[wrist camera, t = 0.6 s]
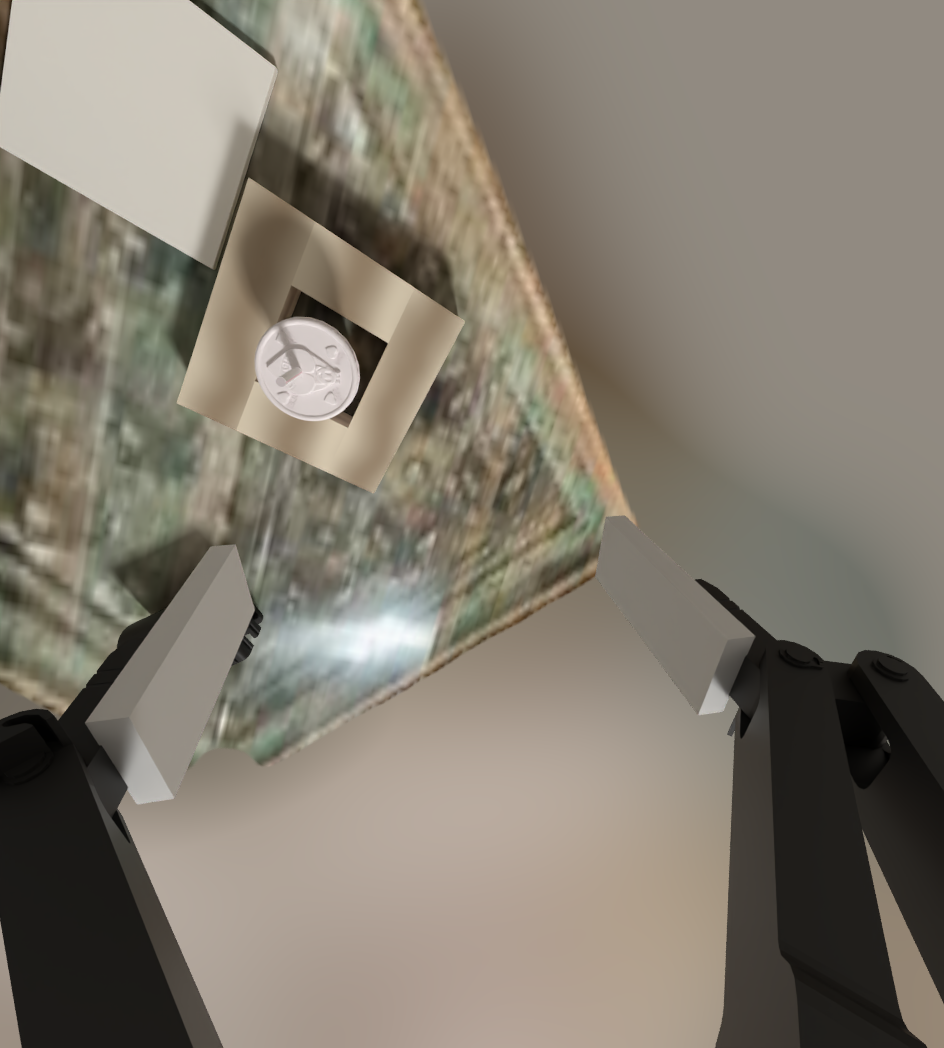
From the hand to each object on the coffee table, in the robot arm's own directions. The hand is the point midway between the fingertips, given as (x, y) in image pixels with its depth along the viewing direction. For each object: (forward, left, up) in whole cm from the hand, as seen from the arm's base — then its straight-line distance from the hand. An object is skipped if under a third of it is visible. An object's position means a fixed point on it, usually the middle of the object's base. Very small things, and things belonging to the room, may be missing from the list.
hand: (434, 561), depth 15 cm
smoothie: (-8, 0, -27) cm, 28 cm away
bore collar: (-8, 0, -26) cm, 28 cm away
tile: (-24, +8, -26) cm, 37 cm away
